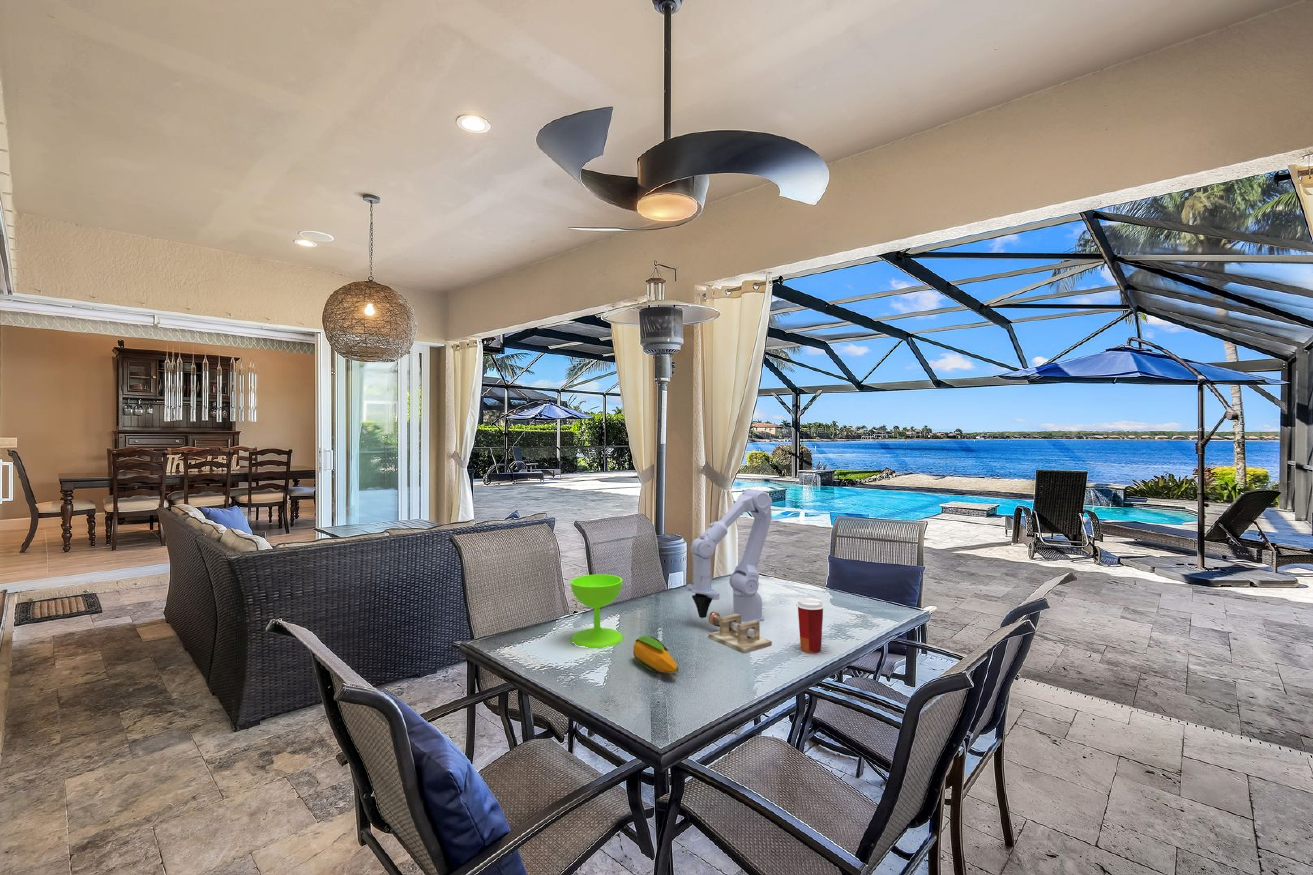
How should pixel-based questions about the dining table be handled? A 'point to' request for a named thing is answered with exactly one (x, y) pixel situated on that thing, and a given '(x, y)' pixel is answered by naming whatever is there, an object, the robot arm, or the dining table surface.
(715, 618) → the shaft
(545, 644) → the dining table surface
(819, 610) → the paper cup
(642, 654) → the corn
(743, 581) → the robot arm
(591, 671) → the dining table surface
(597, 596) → the wineglass
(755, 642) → the bearing block
